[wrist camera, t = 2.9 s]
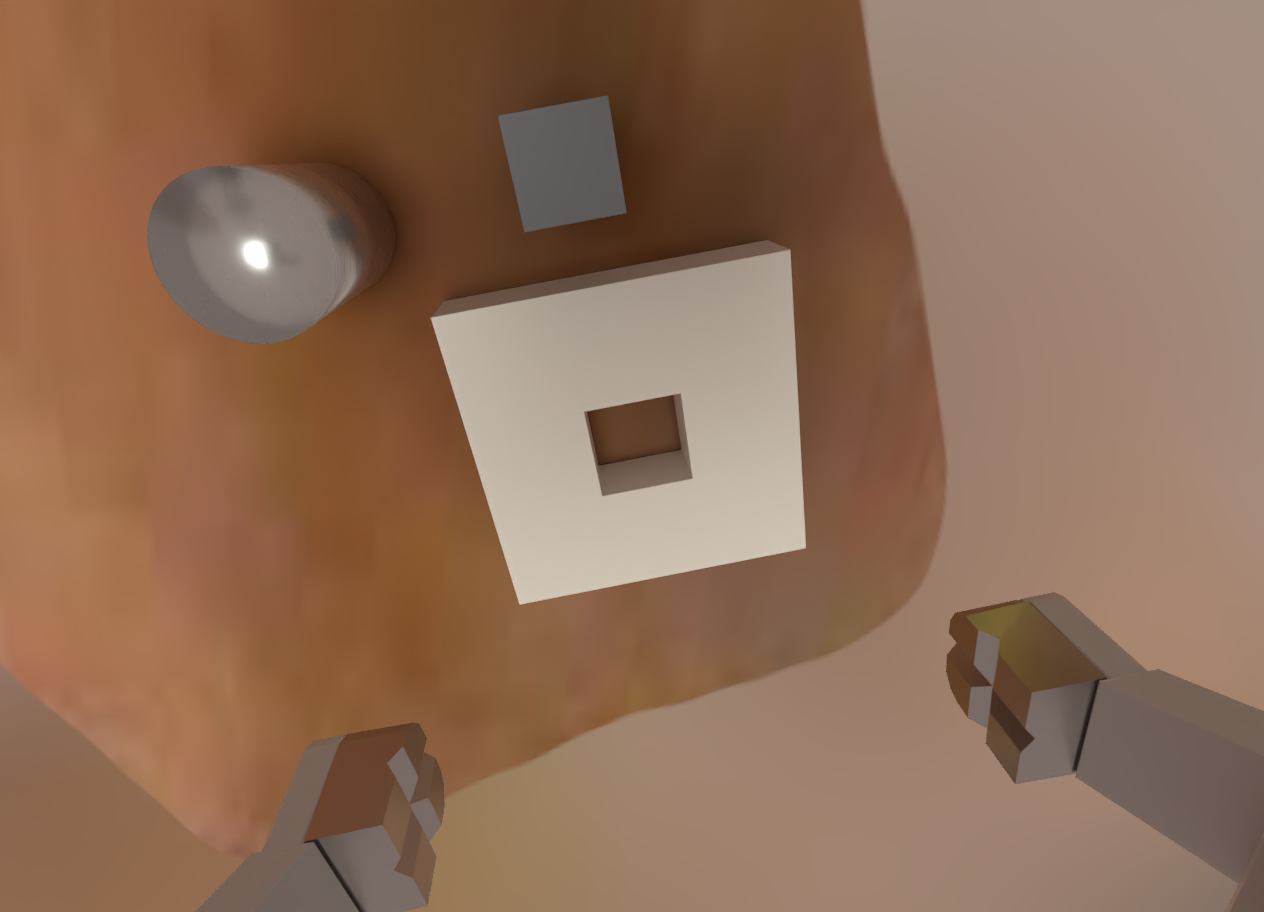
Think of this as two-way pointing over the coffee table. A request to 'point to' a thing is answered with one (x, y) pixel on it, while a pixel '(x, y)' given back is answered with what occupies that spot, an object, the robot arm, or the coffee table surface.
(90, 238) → the coffee table surface
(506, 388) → the socket block
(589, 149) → the square peg
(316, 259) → the round peg
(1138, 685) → the robot arm
